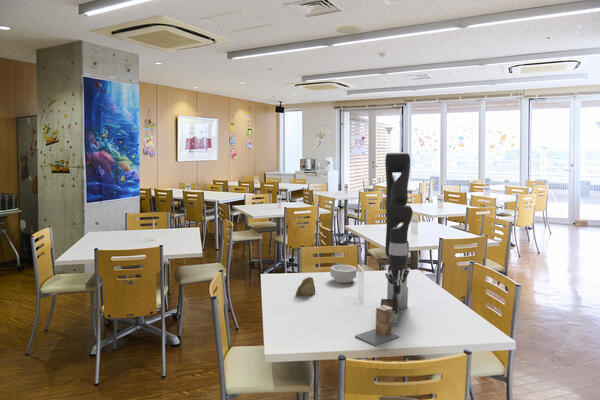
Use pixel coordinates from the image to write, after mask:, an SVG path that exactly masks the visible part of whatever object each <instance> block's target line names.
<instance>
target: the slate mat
mask: <svg viewBox="0 0 600 400" xmlns="http://www.w3.org/2000/svg"><path fill="white" fill-rule="evenodd" d="M398 337H399V338H400V336H399V335H397V334H396V333H392V332H391V334H390V335H387V336H382V335H379V334H377V333H376V328H373V329H371V330H367V331H365V332H362V333H359V334H356V335H354V338H356V339H359V340H361V341H363V342H365V343H367V342H368V343H367V344H369V343H370V344H369V345H371V344H372V346H374V345H375V346H374V347H376V345H377V346H379V344H380V345H382V344H384V342H385V343H387V341H388V342H391V341H393V340H396V339H399V338H398ZM395 338H396V339H395ZM392 339H393V340H392Z"/></svg>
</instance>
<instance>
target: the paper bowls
mask: <svg viewBox="0 0 600 400" xmlns="http://www.w3.org/2000/svg"><path fill="white" fill-rule="evenodd" d="M357 270H358V269H357V267H356V266H352V265H348V264H336V265H335V264H334V265H332V266H330V277H331V278H333V280H334V281H335V282H336V283H341V284H348V283H351V282H353V280H354V279H356V277H357Z"/></svg>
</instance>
